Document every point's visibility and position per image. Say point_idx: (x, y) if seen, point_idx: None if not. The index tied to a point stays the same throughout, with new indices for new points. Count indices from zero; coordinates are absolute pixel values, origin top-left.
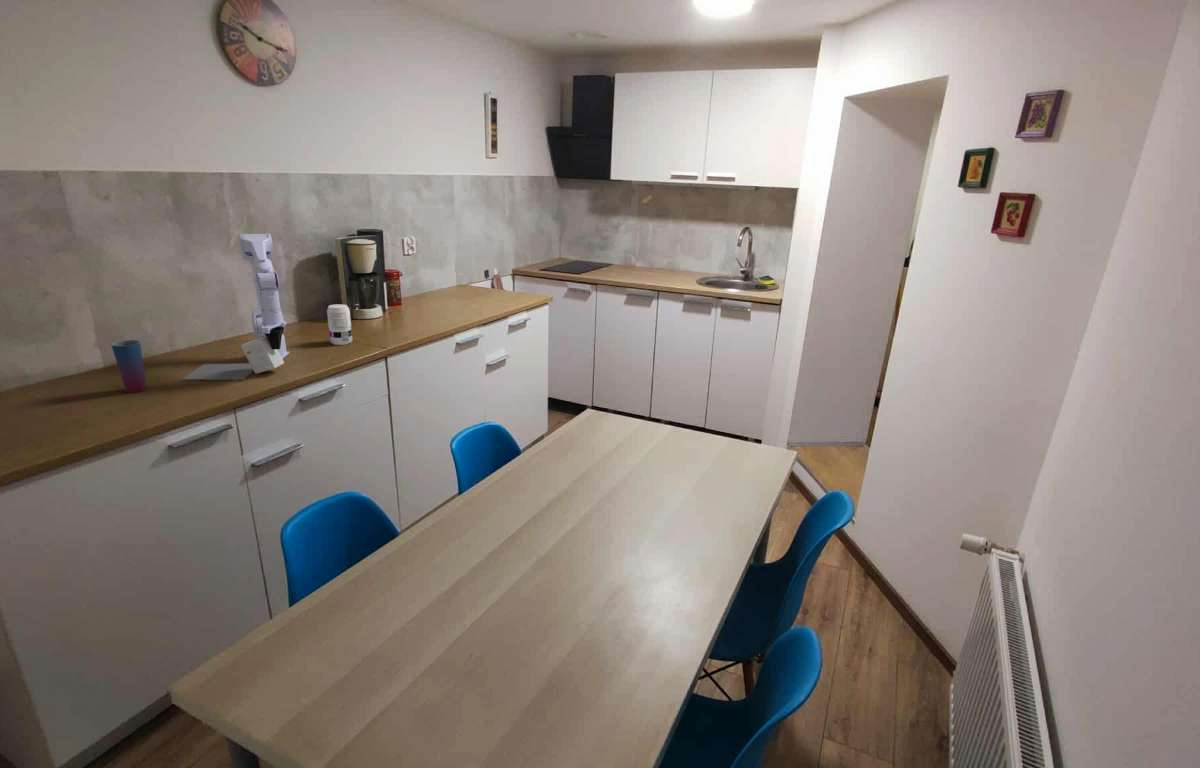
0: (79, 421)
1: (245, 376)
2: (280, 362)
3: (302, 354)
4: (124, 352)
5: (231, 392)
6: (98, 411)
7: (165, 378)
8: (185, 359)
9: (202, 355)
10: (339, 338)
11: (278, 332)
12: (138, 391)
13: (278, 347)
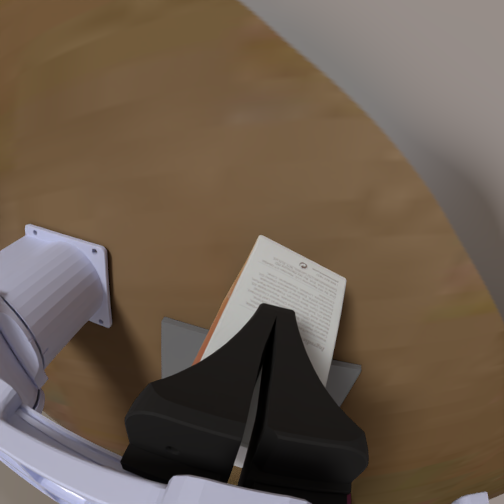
0: (453, 496)
1: (332, 365)
2: (286, 258)
3: (35, 171)
4: None
5: (467, 374)
6: (425, 497)
7: None
8: (124, 443)
9: (91, 418)
10: None
11: (363, 444)
12: (349, 494)
13: (294, 321)
